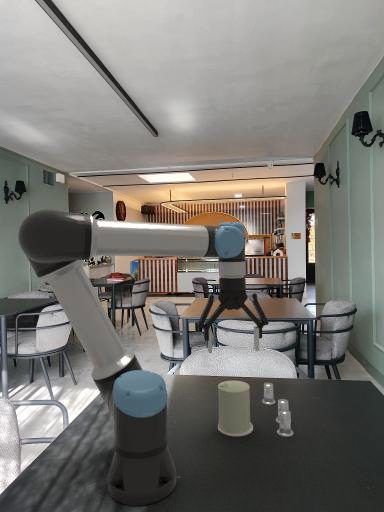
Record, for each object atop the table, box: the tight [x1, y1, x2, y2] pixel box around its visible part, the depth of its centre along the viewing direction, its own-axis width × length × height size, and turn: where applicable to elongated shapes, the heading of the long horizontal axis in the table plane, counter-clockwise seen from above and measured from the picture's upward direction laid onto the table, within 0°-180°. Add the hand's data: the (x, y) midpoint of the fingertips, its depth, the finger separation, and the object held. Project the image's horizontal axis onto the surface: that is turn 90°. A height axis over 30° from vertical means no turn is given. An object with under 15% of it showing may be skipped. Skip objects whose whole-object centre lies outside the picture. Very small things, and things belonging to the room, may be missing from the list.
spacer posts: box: [261, 382, 294, 438], centre depth 115 cm, size 25×19×6 cm
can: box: [217, 380, 251, 433], centre depth 108 cm, size 9×9×12 cm
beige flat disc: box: [217, 421, 254, 438], centre depth 109 cm, size 10×10×1 cm
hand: (233, 351), depth 108 cm, fingers open, 13 cm apart
